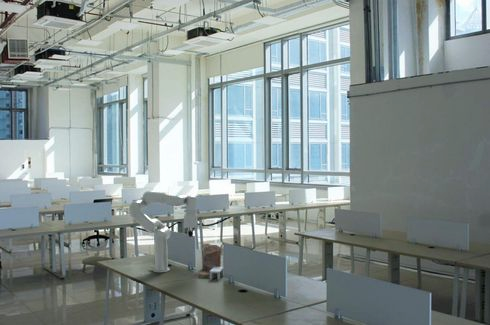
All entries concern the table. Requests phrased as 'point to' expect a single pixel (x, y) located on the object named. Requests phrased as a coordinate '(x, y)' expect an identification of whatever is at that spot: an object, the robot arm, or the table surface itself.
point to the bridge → (217, 270)
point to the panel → (206, 275)
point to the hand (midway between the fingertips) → (190, 236)
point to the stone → (210, 256)
